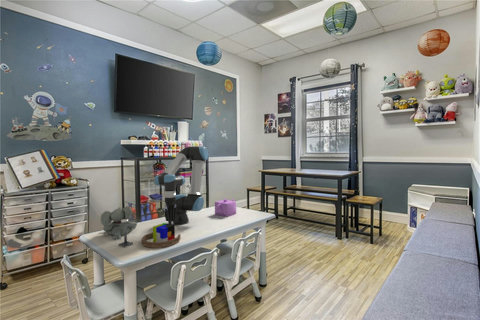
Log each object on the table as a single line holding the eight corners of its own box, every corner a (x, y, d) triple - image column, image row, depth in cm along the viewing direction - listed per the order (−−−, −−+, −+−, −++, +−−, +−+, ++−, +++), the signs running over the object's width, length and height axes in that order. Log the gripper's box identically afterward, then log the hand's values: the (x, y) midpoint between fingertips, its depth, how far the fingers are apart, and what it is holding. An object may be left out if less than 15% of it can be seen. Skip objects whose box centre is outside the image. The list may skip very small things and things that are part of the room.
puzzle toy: (163, 244, 167) (163, 228, 167) (153, 241, 172) (152, 226, 172) (175, 239, 176) (174, 224, 175) (164, 237, 181) (163, 222, 180)
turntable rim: (133, 244, 167) (133, 239, 167) (157, 234, 186) (157, 230, 186) (162, 250, 157) (162, 245, 156) (184, 239, 175) (184, 234, 175)
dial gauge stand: (118, 246, 165) (117, 220, 164) (129, 241, 172) (128, 217, 172) (127, 248, 161) (127, 222, 161) (138, 243, 169) (137, 218, 168)
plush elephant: (105, 230, 198) (104, 203, 197) (136, 227, 205) (136, 201, 204) (98, 242, 172) (97, 211, 172) (134, 238, 179) (133, 208, 179)
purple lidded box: (240, 212, 248) (240, 197, 248) (223, 218, 229) (223, 202, 228) (228, 210, 258) (228, 196, 257) (211, 215, 238) (210, 200, 237)
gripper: (167, 198, 172) (168, 233, 173) (180, 195, 184) (181, 228, 185) (159, 198, 176) (160, 232, 177) (172, 194, 187) (173, 227, 188)
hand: (171, 230), depth 181 cm, fingers closed
